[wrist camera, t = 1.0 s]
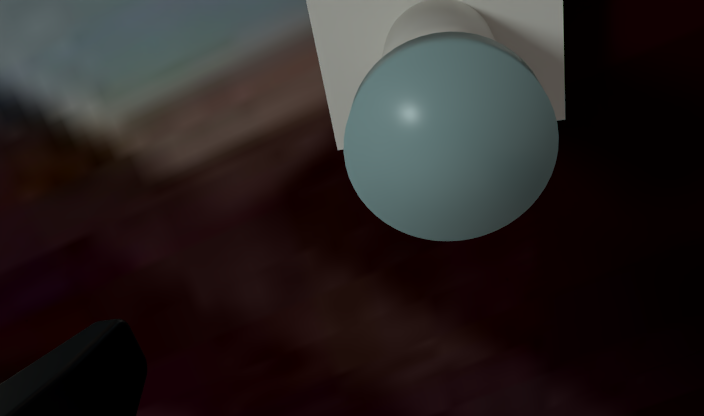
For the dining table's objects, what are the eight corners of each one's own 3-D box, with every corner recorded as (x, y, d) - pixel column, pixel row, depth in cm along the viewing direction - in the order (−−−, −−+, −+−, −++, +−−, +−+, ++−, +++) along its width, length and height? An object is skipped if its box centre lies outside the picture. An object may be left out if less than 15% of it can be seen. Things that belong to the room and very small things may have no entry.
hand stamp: (546, -67, 18) (652, -21, 10) (551, 96, 20) (640, 243, 12) (315, -24, 19) (238, 49, 11) (344, 125, 21) (299, 276, 13)
